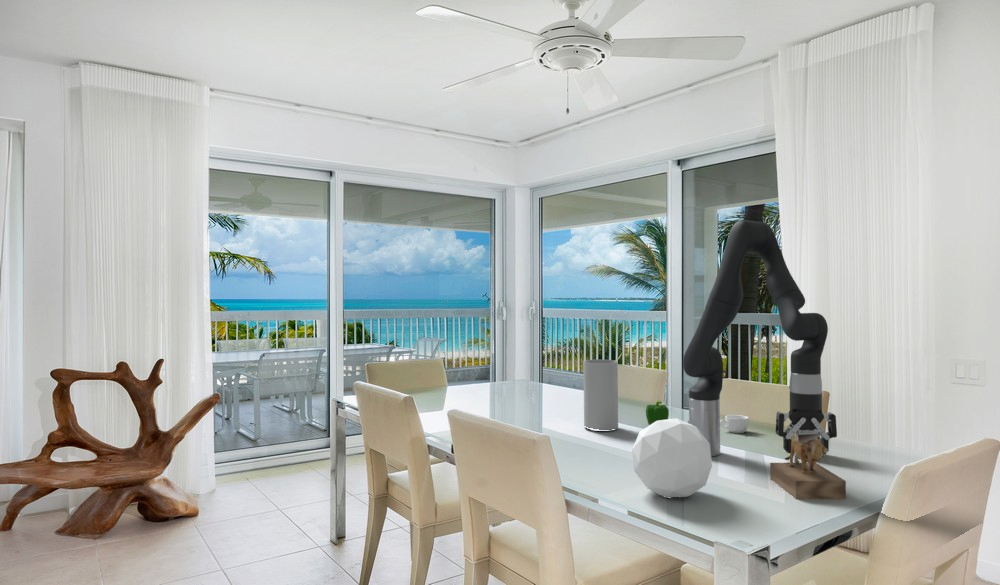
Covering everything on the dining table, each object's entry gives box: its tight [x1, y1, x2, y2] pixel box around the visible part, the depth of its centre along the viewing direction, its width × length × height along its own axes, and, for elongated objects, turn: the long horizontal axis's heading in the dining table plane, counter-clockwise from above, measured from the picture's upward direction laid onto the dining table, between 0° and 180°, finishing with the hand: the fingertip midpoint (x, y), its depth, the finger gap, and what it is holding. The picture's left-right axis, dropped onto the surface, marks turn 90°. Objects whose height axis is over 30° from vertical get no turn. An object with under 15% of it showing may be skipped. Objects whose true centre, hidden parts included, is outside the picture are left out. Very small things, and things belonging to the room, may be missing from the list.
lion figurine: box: [784, 439, 829, 474], centre depth 162 cm, size 15×5×9 cm, turn 11°
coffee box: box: [790, 429, 821, 455], centre depth 192 cm, size 9×6×16 cm
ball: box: [631, 417, 713, 498], centre depth 157 cm, size 19×20×20 cm
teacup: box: [720, 414, 749, 434], centre depth 223 cm, size 10×8×5 cm
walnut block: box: [769, 462, 847, 500], centre depth 160 cm, size 12×16×5 cm
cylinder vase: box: [582, 359, 619, 430], centre depth 231 cm, size 12×12×25 cm
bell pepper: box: [645, 400, 670, 426], centre depth 234 cm, size 8×8×10 cm
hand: (805, 453), depth 161 cm, fingers open, 8 cm apart
